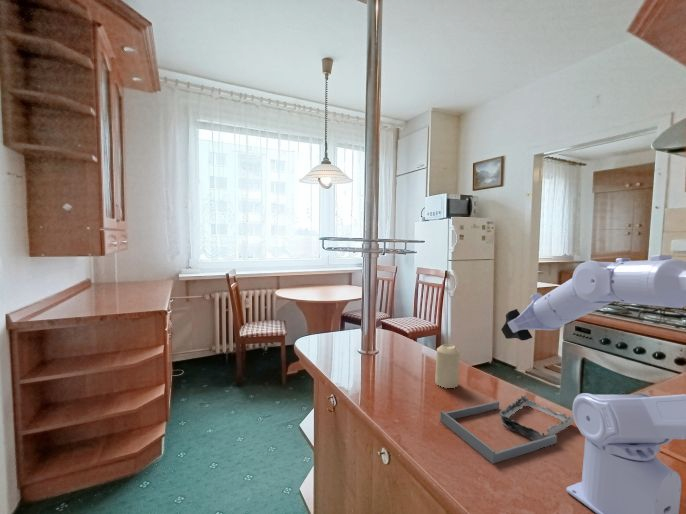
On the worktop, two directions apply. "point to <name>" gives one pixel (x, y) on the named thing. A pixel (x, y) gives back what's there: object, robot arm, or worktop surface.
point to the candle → (447, 366)
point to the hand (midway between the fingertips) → (520, 327)
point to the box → (481, 446)
